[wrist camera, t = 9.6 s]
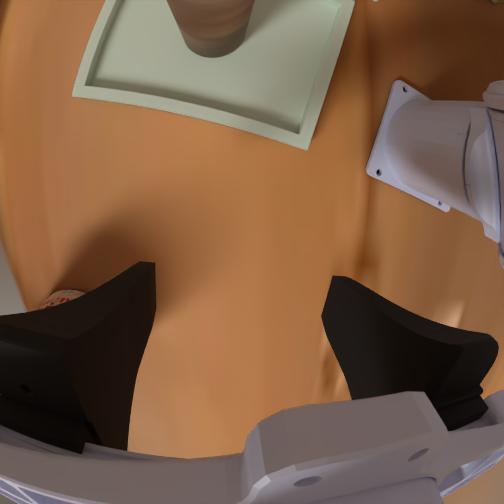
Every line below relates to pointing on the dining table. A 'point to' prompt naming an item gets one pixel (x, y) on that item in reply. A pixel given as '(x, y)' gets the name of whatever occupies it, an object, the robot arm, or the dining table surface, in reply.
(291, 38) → the sage tray
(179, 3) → the walnut pin
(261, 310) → the dining table surface
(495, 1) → the food packaging
